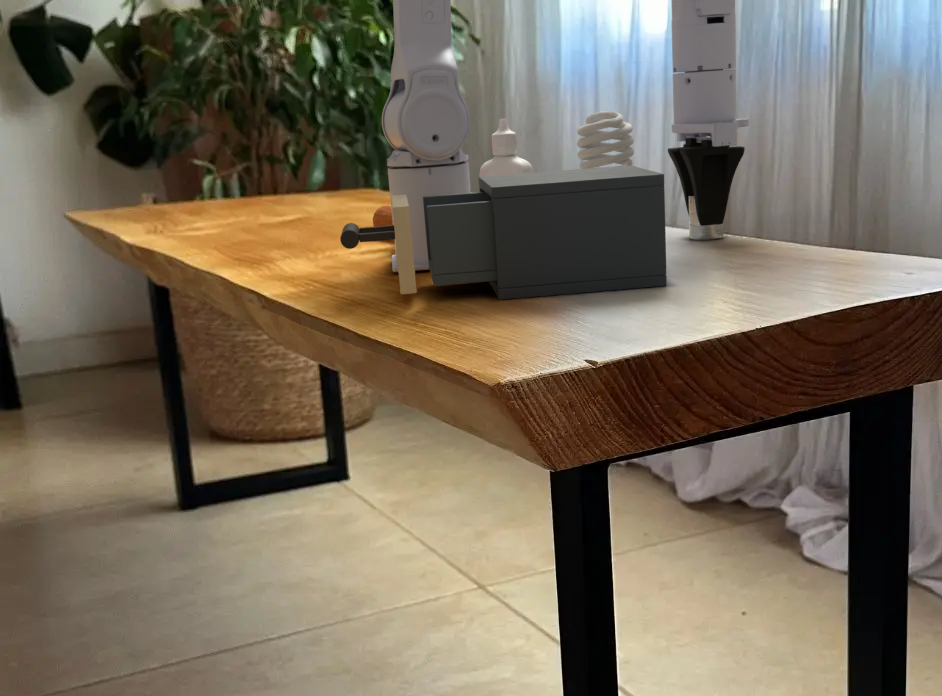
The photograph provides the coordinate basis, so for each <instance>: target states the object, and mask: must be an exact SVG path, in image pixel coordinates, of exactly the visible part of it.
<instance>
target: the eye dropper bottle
mask: <svg viewBox="0 0 942 696" xmlns="http://www.w3.org/2000/svg"><path fill="white" fill-rule="evenodd" d="M491 146H492V147H491V149H492V155H493V157H492V158H491V159H489V160H487V161H485V162H483V164H482V165H481V166H480V169H479V177H483V176H496V175H509V174H523V173H534V167H533V166H532V164H531V163H530V162H529V161H528V160H527V159H525V158H521V157H519V156H518V155H516V154H518V142H517V133H516V132H515V131H513V130H511V129H510V127H509V124H508V120H507V118H499V119H498V127H497V129H496V131H495V132H494V133H492V134H491Z"/></svg>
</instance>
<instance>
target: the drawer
mask: <svg viewBox="0 0 942 696" xmlns="http://www.w3.org/2000/svg"><path fill="white" fill-rule="evenodd" d="M391 198H392V208H393V219H394V225H388V226H375V227H374V226H365V227H360V226H359V225H358V224H356V223H354V222H348V223H346V224H344V226H343V227H342V230H341V234H340V239H339V240H340V244H341V246H343V248H346V249H347V250H348V249H349V250H352V249H355V248H356V247H357V246H358V245H359V243H371V242H382V241H383V242H384V241H394V240H396V251H397V262H398V272H397V273H398V281H399V292H400V295H410V294H412V295H413V294H417V293H418V291H417V290H418V289H417V279H416V278H417V277H416V271H415V267H414V256H413V245H412V233H411V222H410V211H409V204H408V200H407V196H406V195H392V196H391ZM423 207H424V218H425V230H426V241H427V253H428V264H429V273H430V277H431V281H432V284H433V287H440V286H451V285H464V284H474V283H475V284H476V283H477V284H478V283H489V282H490V281H497V272H496V257H495V243H494V228H493V214H492V198H491V197H490V196H489V195H488V194H487V193H486V192H480V191H476V192H475V191H474V192H471V193H460V194H447V195H434V196H423Z"/></svg>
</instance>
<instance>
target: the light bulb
mask: <svg viewBox="0 0 942 696" xmlns="http://www.w3.org/2000/svg"><path fill="white" fill-rule="evenodd" d="M624 120H625V119H624V116H623V115H622V114H621V113H619V112H617V111H612V110H604V111H603V110H601V111H597V112H594V113H592V114H589V115H587V116H586V119H585V124H584V125H581V126H579V128H578V129H577V131H576V132H577V133H576V134H577V135H578V136H580V137H581V138H579V139H578V140H576V141H577V142H576V146H577V147H578V148H579V149H581V150H579V151H578V152H577V158H578V159H580V160H582V161H583V162H581V163H580V165H579V169H588V168H600V167H605V166H607V165H608V166H609V165H612V164H617V165H621V166H627V165H631V166H633V160H632V159H631V158H632V156H633V155H634V154H635V149H634V148H633V147H632V145H633V144H634V143H635V139H634V136H632V135H631V133H632V132H633V129H634V127H633V125H632V124H631V123H629V122H627V121H624ZM608 128H614V129H613V130H604V129H608ZM610 140H611V141H612V140H613V141H615V140H616V141H615V142H606V141H610ZM612 152H616V153H617V154H607V153H612Z"/></svg>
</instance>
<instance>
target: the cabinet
mask: <svg viewBox="0 0 942 696" xmlns="http://www.w3.org/2000/svg"><path fill="white" fill-rule="evenodd" d="M478 192H486V193H487V194H488V195H489V196H490V197H491V198H492V214H493V228H494V243H495V257H496V272H497V281H490V282H488V283H489V285H490V287H491V288H492V290H493V291H494V293H495V295H496V297H497V298H498V300H501V301H503V300H512V299H524V298H536V297H537V298H538V297H549V296H560V295H574V294H584V293H585V294H586V293H597V292H610V291H621V290H632V289H633V290H635V289H644V288H656V287H657V288H658V287H666V286H667V285H668V277H667V274H668V273H667V272H668V271H667V240H666V239H667V237H666V236H667V235H666V199H665V198H666V197H665V196H666V195H665V194H666V193H665V174H664V173H661V172H657V171H653V170H649V169H646V168H643V167H639V166H634V165H632V166H631V165H627V166H624V165H615V166H614V165H613V166H600V167H595V168H588V169H581V168H575V169H564V170H563V169H561V170H549V171H538V172H537V171H536V172H533V173H523V174H509V175H496V176H483V177H480V176H478Z"/></svg>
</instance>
